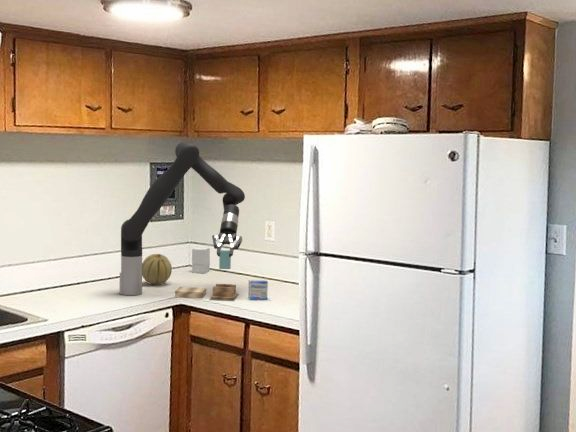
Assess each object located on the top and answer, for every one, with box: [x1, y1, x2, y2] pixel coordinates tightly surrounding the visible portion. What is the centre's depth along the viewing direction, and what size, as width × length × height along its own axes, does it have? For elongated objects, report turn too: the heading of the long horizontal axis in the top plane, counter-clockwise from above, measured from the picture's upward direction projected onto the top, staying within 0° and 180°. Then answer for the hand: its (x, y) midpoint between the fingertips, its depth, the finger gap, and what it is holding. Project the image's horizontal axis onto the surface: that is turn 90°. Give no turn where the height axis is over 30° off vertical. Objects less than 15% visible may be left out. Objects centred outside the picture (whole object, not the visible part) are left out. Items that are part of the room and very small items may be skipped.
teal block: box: [218, 249, 232, 270], centre depth 336 cm, size 4×3×8 cm, turn 85°
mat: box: [208, 293, 240, 302], centre depth 337 cm, size 11×16×1 cm
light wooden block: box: [174, 286, 208, 299], centre depth 338 cm, size 12×10×3 cm
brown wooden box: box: [210, 283, 239, 300], centre depth 337 cm, size 10×12×5 cm
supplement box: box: [191, 246, 211, 274], centre depth 400 cm, size 7×7×13 cm
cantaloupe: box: [142, 253, 173, 286], centre depth 363 cm, size 15×15×15 cm
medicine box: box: [248, 279, 269, 301], centre depth 335 cm, size 8×4×9 cm, turn 101°
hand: (224, 255), depth 333 cm, fingers closed on teal block, 4 cm apart
